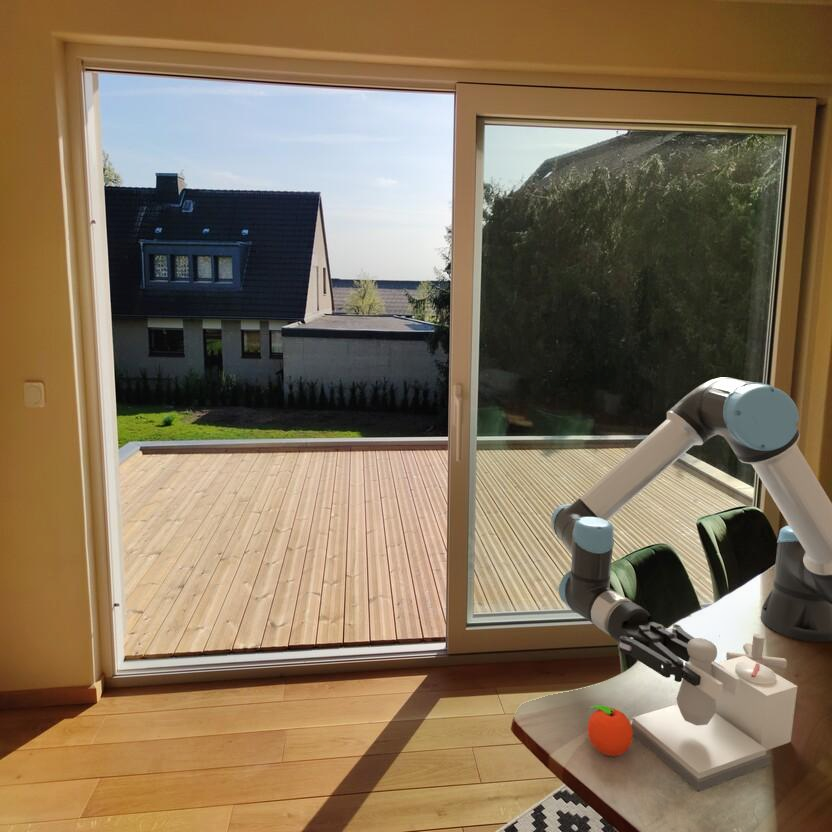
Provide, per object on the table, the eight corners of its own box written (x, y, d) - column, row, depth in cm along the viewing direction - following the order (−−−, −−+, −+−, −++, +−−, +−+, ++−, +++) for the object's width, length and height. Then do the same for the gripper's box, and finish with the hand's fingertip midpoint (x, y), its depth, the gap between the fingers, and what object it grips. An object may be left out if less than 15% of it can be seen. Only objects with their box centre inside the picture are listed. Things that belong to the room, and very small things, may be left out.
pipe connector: (791, 704, 115) (798, 653, 114) (732, 697, 117) (737, 646, 116) (773, 674, 125) (778, 626, 123) (718, 667, 127) (723, 620, 125)
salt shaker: (707, 734, 99) (716, 656, 97) (670, 718, 102) (677, 642, 100) (719, 717, 103) (727, 642, 101) (683, 702, 107) (690, 629, 105)
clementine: (571, 745, 104) (574, 705, 102) (596, 727, 108) (598, 689, 107) (616, 772, 98) (619, 730, 96) (639, 752, 102) (643, 711, 101)
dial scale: (727, 699, 117) (733, 643, 115) (804, 751, 103) (812, 689, 101) (627, 729, 108) (631, 670, 106) (697, 791, 94) (704, 724, 92)
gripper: (654, 631, 121) (763, 701, 100) (585, 646, 115) (686, 724, 94) (657, 593, 120) (769, 656, 99) (588, 607, 114) (691, 677, 93)
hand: (728, 689), depth 96 cm, fingers closed on salt shaker, 3 cm apart
